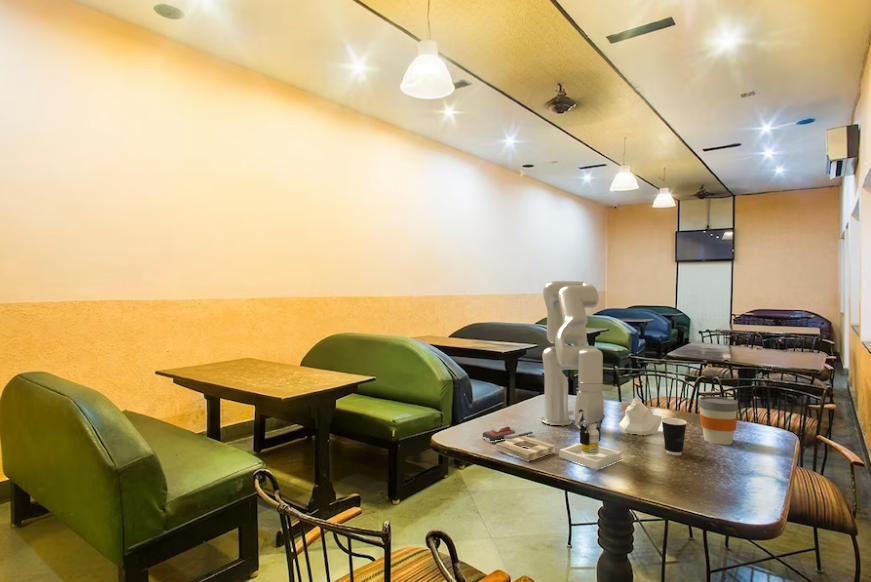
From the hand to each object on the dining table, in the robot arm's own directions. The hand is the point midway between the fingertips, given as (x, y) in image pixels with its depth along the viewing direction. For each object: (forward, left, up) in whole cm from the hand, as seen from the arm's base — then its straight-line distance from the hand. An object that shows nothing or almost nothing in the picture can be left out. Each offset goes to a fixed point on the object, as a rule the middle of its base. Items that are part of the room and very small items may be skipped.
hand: (590, 441), depth 156 cm
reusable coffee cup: (-54, +18, -6) cm, 57 cm away
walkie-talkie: (+4, -33, -6) cm, 34 cm away
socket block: (+11, -18, -6) cm, 22 cm away
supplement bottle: (0, 0, -4) cm, 4 cm away
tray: (0, 0, -6) cm, 6 cm away
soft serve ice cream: (-42, -6, -6) cm, 43 cm away
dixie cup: (-28, +14, -6) cm, 32 cm away
